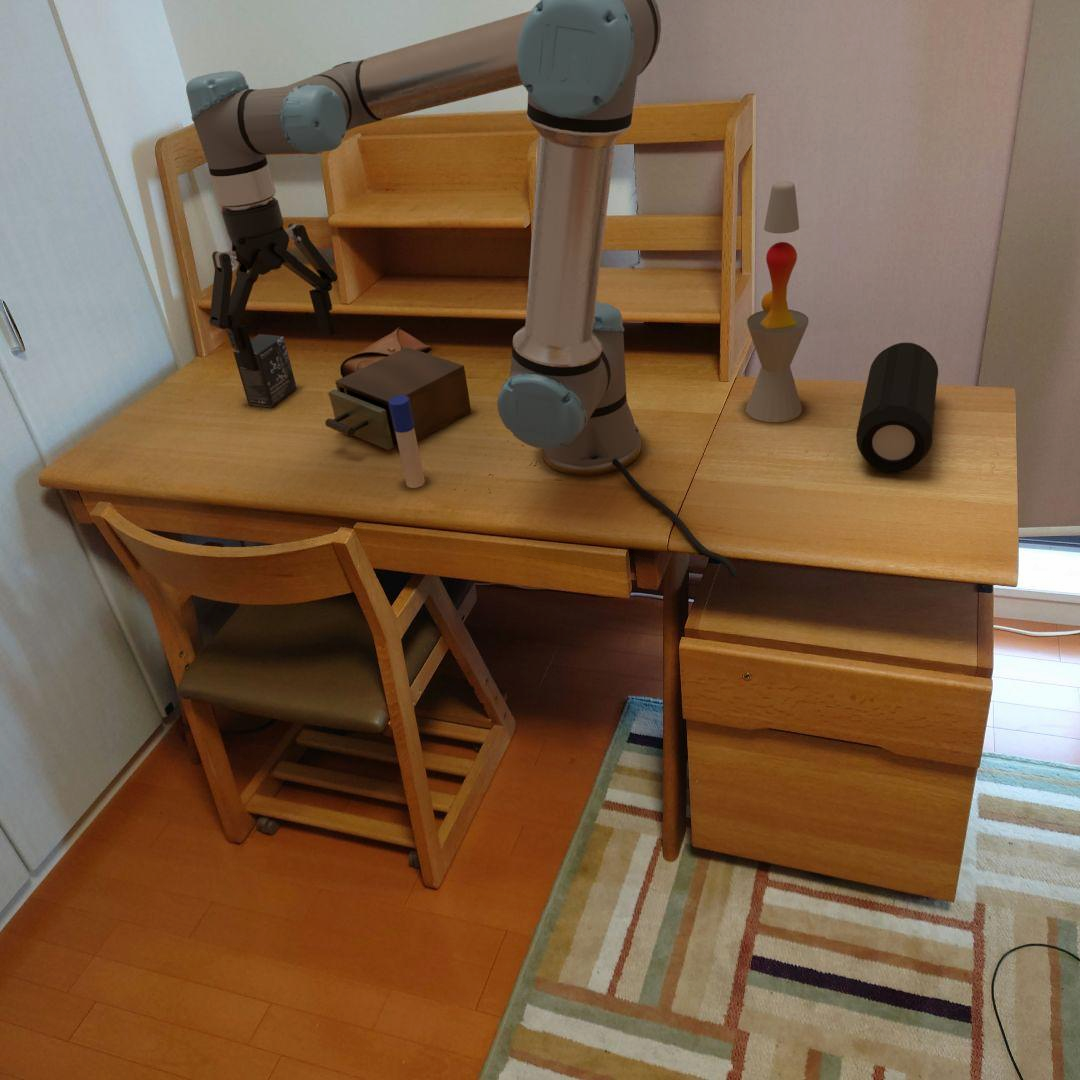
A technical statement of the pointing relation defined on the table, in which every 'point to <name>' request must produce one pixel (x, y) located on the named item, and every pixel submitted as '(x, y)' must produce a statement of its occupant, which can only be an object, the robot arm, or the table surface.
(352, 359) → the sunglasses case
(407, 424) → the marker
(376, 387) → the cabinet
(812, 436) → the table surface
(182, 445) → the table surface
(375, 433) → the drawer
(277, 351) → the box
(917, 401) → the portable speaker
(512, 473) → the table surface
